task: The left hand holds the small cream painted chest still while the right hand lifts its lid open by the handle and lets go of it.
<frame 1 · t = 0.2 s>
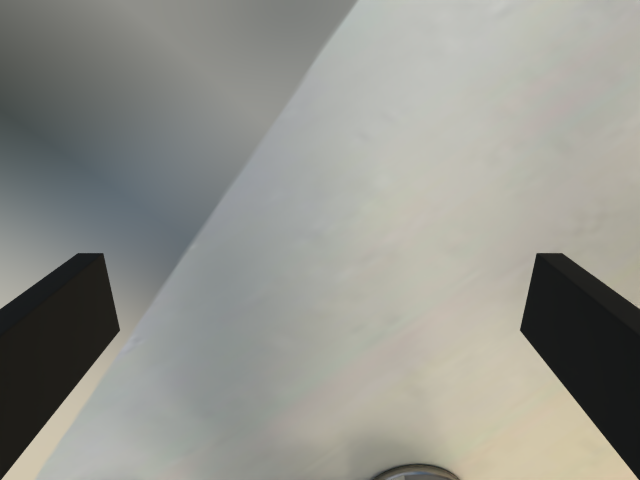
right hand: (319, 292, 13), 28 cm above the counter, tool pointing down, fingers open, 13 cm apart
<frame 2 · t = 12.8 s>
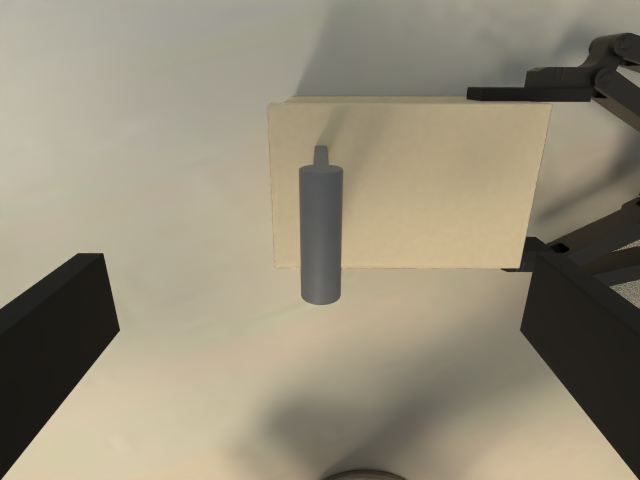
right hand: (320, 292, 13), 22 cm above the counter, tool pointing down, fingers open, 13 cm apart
left hand: (463, 177, 27), fingers closed on chest, 10 cm apart
chest: (383, 159, 33), on the counter, touching left hand
lid: (416, 210, 20), point 14 cm above the counter, hinge at 0.0°
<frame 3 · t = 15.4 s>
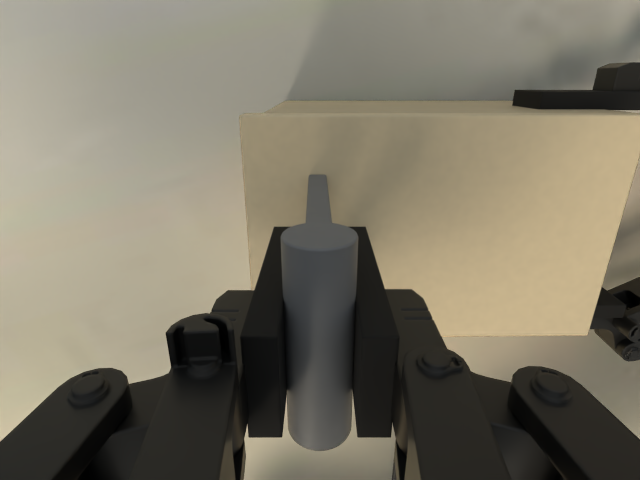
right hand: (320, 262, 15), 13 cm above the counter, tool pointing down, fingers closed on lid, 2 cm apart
chest: (397, 178, 27), on the counter, touching left hand
lid: (461, 275, 13), point 14 cm above the counter, hinge at 1.1°, touching right hand
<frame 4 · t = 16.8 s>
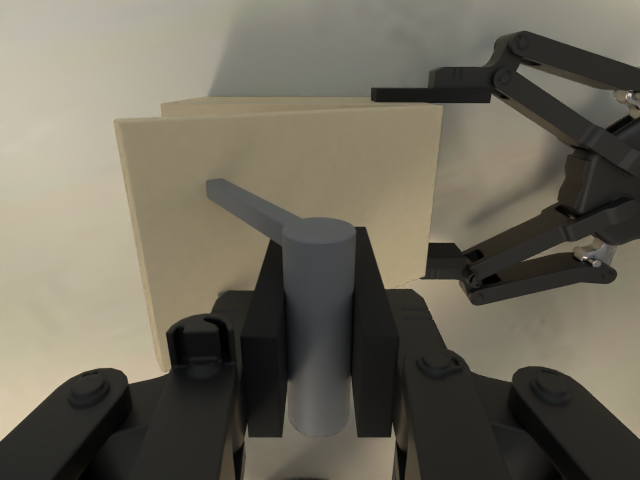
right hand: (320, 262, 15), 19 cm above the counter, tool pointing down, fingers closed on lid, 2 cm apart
left hand: (369, 181, 26), fingers closed on chest, 10 cm apart
chest: (304, 161, 32), on the counter, touching left hand
lid: (369, 247, 16), point 18 cm above the counter, hinge at 34.1°, touching right hand
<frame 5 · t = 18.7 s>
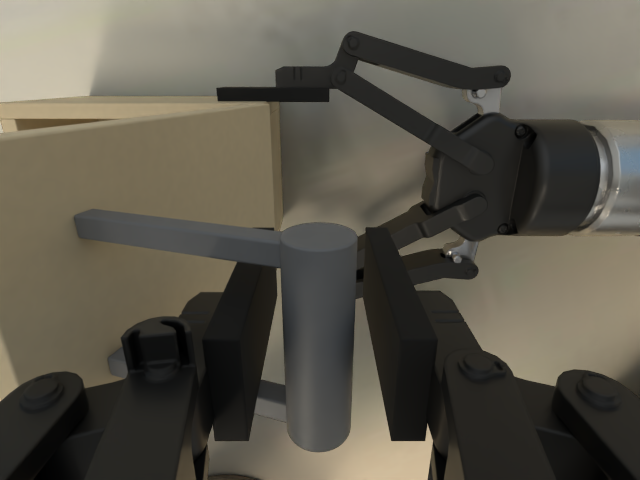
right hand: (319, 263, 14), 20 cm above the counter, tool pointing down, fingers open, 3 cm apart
left hand: (229, 178, 27), fingers closed on chest, 10 cm apart
chest: (191, 160, 33), on the counter, touching left hand
lid: (272, 251, 15), point 19 cm above the counter, hinge at 71.2°
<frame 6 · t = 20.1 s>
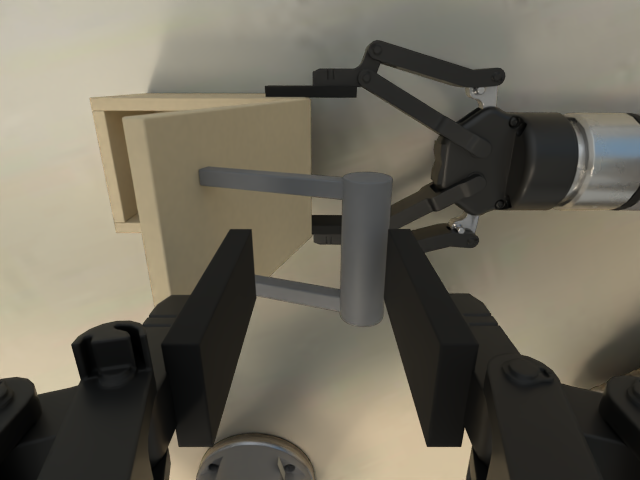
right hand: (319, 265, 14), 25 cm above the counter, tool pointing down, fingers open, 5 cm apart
left hand: (270, 161, 32), fingers closed on chest, 10 cm apart
chest: (231, 148, 38), on the counter, touching left hand
lid: (320, 206, 21), point 19 cm above the counter, hinge at 70.2°
when the left hand's fingers open (6 cm above the counter, at t = 23.0 s): chest stays where it is, on the counter.
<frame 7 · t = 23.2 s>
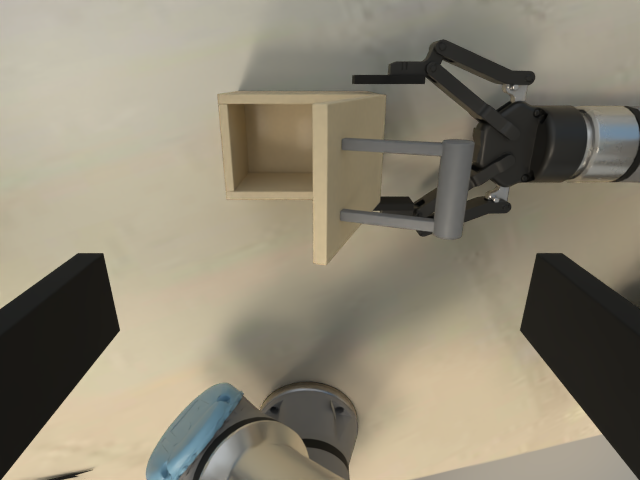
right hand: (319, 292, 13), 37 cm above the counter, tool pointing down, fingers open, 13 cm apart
left hand: (351, 144, 41), fingers open, 12 cm apart
chest: (303, 136, 47), on the counter
lid: (406, 170, 29), point 19 cm above the counter, hinge at 69.4°
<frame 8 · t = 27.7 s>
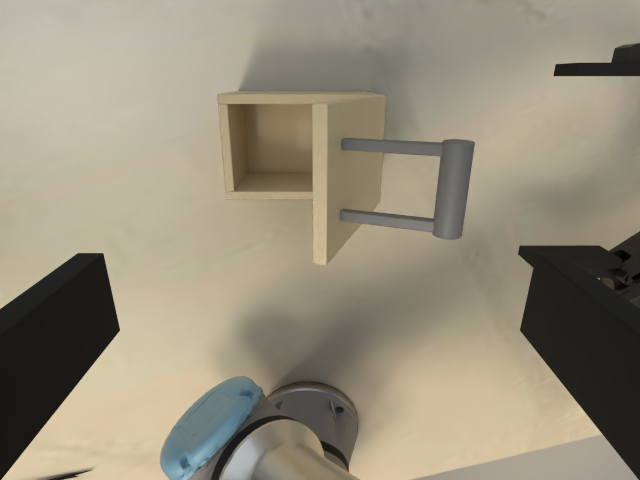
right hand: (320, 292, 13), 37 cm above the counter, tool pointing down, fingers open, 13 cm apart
chest: (303, 136, 47), on the counter
lid: (406, 170, 29), point 19 cm above the counter, hinge at 69.4°
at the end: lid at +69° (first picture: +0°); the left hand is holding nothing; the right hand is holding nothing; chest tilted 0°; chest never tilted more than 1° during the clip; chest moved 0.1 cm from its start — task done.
